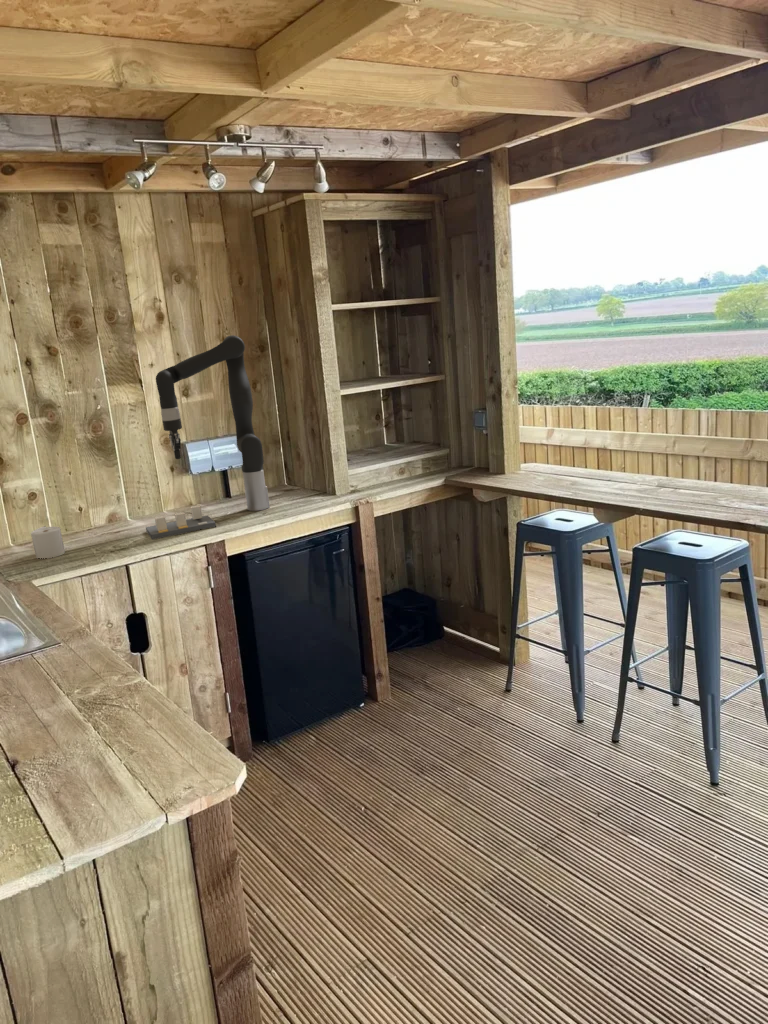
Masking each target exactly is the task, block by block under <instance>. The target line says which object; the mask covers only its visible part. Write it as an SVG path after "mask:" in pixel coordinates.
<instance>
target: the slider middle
mask: <svg viewBox="0 0 768 1024" xmlns="http://www.w3.org/2000/svg"><path fill="white" fill-rule="evenodd" d="M174 517H175V518H174V519H175V522H176V525H177V526H178V527H181V526H186V525H187V523H186V519H187V518H186V513H185V512H184V511H183V512H177V513H174Z"/></svg>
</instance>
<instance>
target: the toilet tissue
mask: <svg viewBox="0 0 768 1024" xmlns="http://www.w3.org/2000/svg"><path fill="white" fill-rule="evenodd" d="M30 536H31V540H32V541H31V542H32V546H33V549H34V554H35V558H36V559H38V558H40V559H39V560H46V559H45V558H47V559H53V558H57V557H60V556H61V555H63V554H65V553H66V549H65V545H64V544H65V543H64V541H63V535H62V531H61V527H60V526H47V527H46V525H44V526H41V527H38V528H36V529H34V530H33V531H31V532H30ZM52 557H53V558H52ZM41 558H42V559H41ZM43 558H44V559H43Z"/></svg>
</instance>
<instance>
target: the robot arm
mask: <svg viewBox="0 0 768 1024" xmlns="http://www.w3.org/2000/svg"><path fill="white" fill-rule="evenodd" d="M245 345H246V344H245V343H244V341H243V339H242V338H241V337H239V336H238V335H231V334H230V335H228V336H226V337H224V339H223V341H222V342H220V343H219V344H217V345H216V346H213V348H211V349H209V350H207V351H204V352H201V353H198V354H194V355H193V356H191V357H189V358H186V359H183V360H182V361H179V362H178V363H176V364H175V365H172V366H169V367H167V368H164V369H162V370H160V371H158V373H157V374H156V377H155V382H156V384H155V385H156V388H157V392H158V395H159V397H158V398H159V406H160V414H161V420H162V426H163V430H164V431H165V432H169V434H168V439H169V442H170V445H171V448H172V450H173V454H174V459H176V460H180V459H181V458H182V457H181V456H182V455H181V452H180V451H181V449H182V448H181V446H182V445H181V442H182V441H181V435H180V433H179V432H178V430H181V429H182V427H183V425H182V420H181V419H182V418H181V414H180V409H179V404H178V400H177V395H176V390H175V384H176V383H178V382H181V381H182V380H185V379H189V378H190V377H193V376H194V375H198V374H199V373H201V372H203V371H204V370H207V369H208V368H210V367H212V366H214V365H216V364H219V363H221V362H224V361H225V363H226V367H227V378H228V380H227V381H228V392H229V393H228V394H229V398H230V405H231V409H232V414H233V419H234V423H235V433H236V437H235V438H236V446H237V449H238V451H239V452H240V453H241V457H242V458H241V459H242V464H241V472H242V479H243V487H244V493H245V501H246V509H247V511H251V512H252V511H253V512H256V511H263V510H267V509H268V508H269V509H270V499H269V491H268V486H266V480H265V479H266V478H265V470H264V463H265V461H264V453H263V452H264V451H263V444H262V441H261V439H260V438H259V437H258V436H256V435H255V432H254V428H253V409H254V405H253V404H254V400H253V394H252V387H251V384H250V381H249V378H248V374H247V371H246V367H245V357H244V356H245V355H244V353H245V349H246V347H245Z"/></svg>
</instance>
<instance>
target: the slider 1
mask: <svg viewBox="0 0 768 1024" xmlns="http://www.w3.org/2000/svg"><path fill="white" fill-rule="evenodd" d="M154 520H155V525H156V527H157V530H158V531H160V530H165V529H167V526H166V523H167V520H166V517H165V515H162V516H161V515H160V516H155V517H154Z"/></svg>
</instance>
